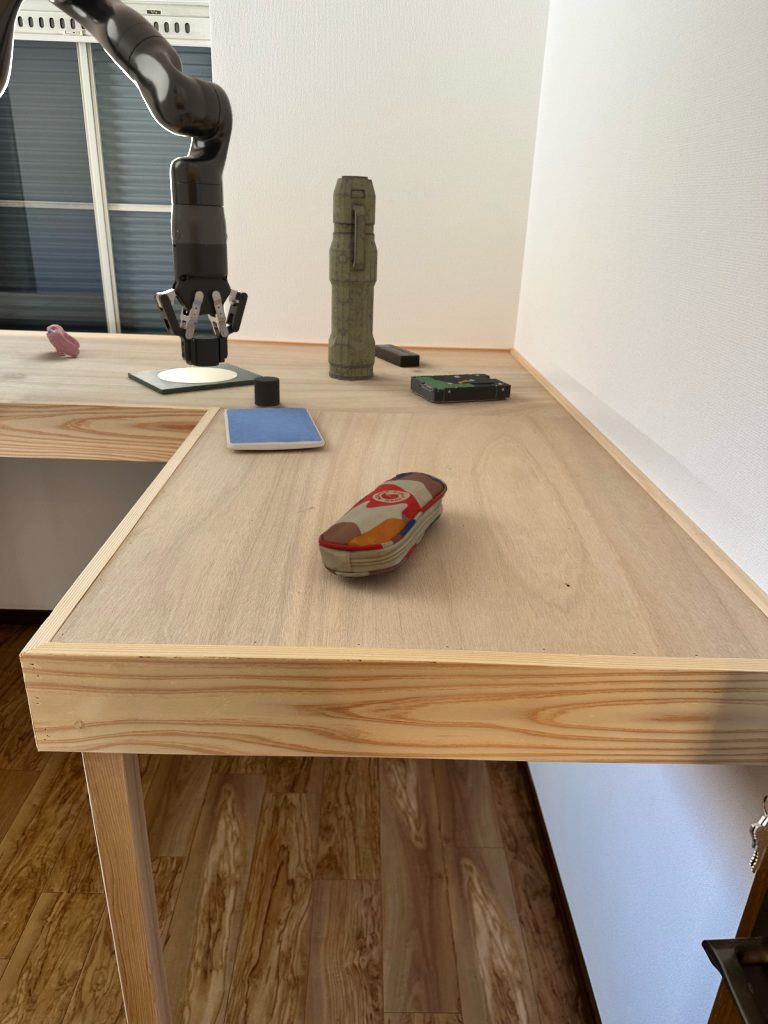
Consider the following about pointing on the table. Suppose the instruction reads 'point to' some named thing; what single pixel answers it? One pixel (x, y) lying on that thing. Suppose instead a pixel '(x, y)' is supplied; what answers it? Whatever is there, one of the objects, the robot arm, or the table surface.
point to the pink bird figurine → (62, 341)
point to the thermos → (352, 279)
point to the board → (194, 378)
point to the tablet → (271, 429)
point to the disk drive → (460, 388)
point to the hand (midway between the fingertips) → (205, 362)
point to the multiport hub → (397, 355)
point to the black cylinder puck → (267, 391)
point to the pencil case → (383, 526)
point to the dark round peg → (206, 350)
